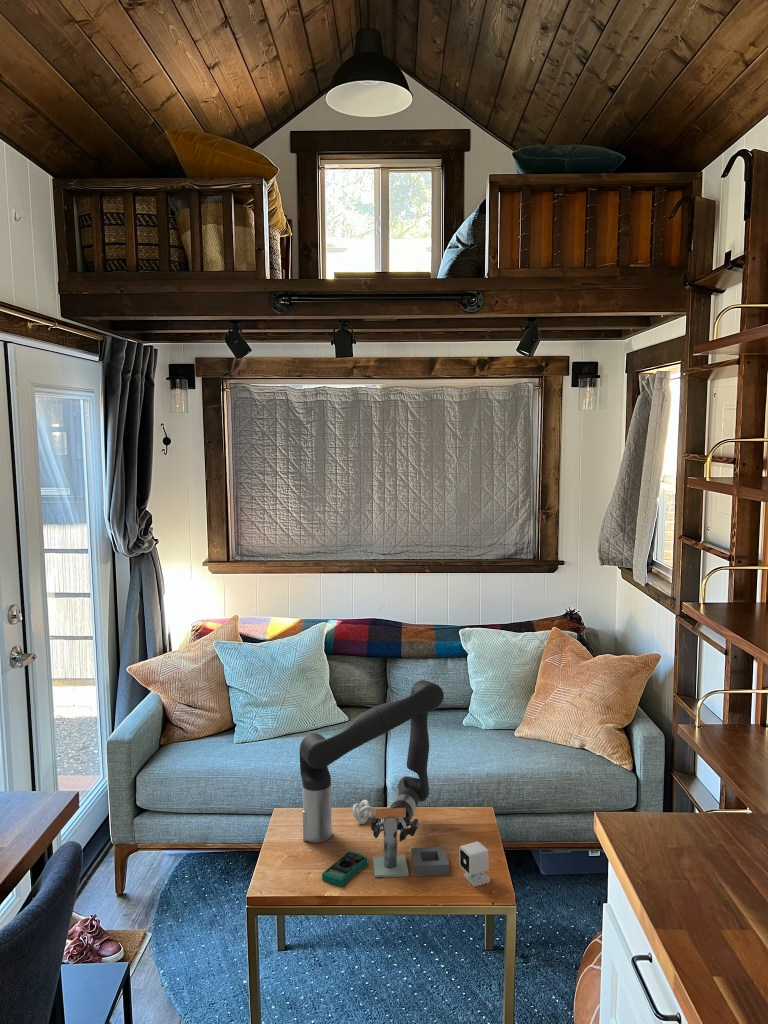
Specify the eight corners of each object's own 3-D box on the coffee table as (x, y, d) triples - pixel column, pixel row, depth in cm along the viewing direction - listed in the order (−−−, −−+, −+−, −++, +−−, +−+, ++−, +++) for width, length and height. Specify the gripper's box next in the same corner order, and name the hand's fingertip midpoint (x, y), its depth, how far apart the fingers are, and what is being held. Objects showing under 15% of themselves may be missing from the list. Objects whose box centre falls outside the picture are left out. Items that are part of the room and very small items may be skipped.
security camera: (459, 878, 219) (459, 845, 219) (479, 872, 222) (479, 839, 222) (470, 889, 214) (470, 855, 213) (491, 883, 217) (491, 849, 216)
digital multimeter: (369, 864, 228) (368, 855, 228) (341, 888, 215) (341, 878, 215) (348, 858, 232) (348, 848, 232) (320, 881, 219) (320, 871, 219)
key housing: (415, 876, 221) (415, 866, 220) (411, 857, 231) (411, 848, 230) (449, 874, 221) (449, 864, 221) (443, 855, 231) (443, 846, 231)
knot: (363, 828, 249) (363, 811, 248) (346, 821, 254) (345, 804, 254) (378, 820, 255) (378, 803, 254) (360, 812, 260) (360, 796, 259)
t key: (375, 868, 223) (375, 813, 222) (374, 861, 227) (375, 807, 226) (405, 867, 224) (406, 812, 223) (404, 860, 228) (404, 806, 226)
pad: (374, 877, 220) (374, 875, 220) (372, 859, 230) (372, 857, 230) (408, 876, 221) (408, 873, 220) (405, 857, 230) (405, 855, 230)
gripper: (379, 797, 240) (364, 821, 224) (423, 802, 236) (411, 827, 220) (380, 819, 240) (365, 845, 224) (423, 825, 236) (411, 852, 221)
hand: (388, 836), depth 222 cm, fingers open, 7 cm apart
